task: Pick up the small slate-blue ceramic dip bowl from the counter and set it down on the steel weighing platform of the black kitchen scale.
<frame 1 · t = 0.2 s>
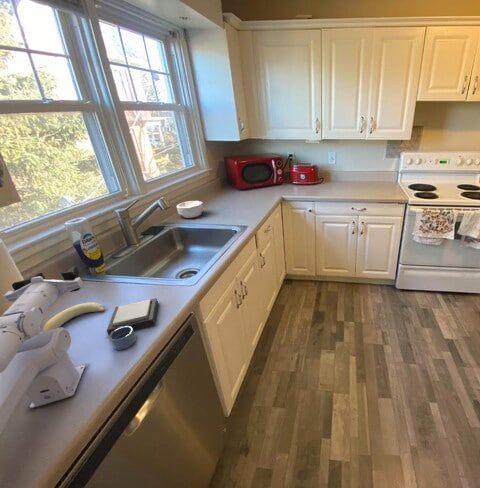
hand: (59, 272, 76), 21 cm above the countertop, tool horizontal, fingers open, 7 cm apart
platform: (133, 312, 89), point 3 cm above the countertop, slide at 0.0 cm
paper bowls: (192, 216, 178), on the countertop
fruit: (74, 321, 90), on the countertop
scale: (135, 319, 90), on the countertop
bowl: (125, 343, 81), on the countertop
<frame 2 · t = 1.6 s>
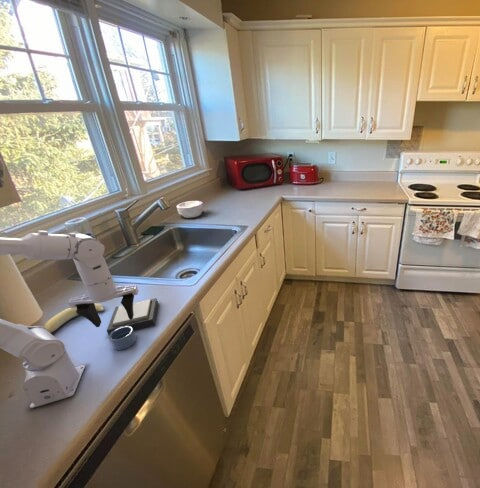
hand: (115, 320, 77), 8 cm above the countertop, tool pointing down, fingers open, 7 cm apart
nothing on the countertop moved.
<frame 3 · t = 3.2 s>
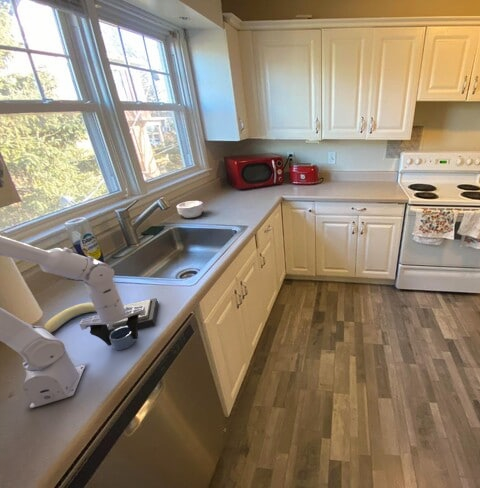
hand: (123, 339, 80), 1 cm above the countertop, tool pointing down, fingers closed on bowl, 5 cm apart
bowl: (125, 343, 81), on the countertop, touching gripper
everything else where it was.
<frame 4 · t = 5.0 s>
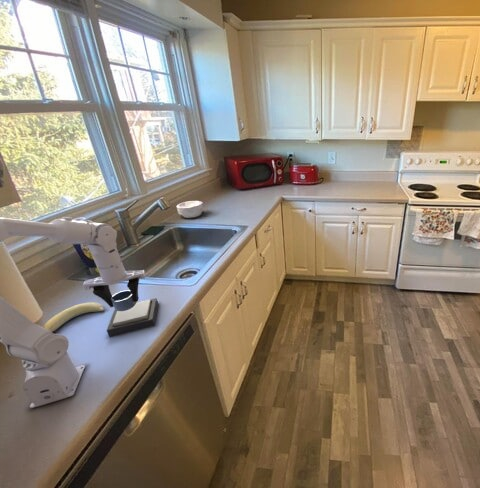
hand: (125, 302, 84), 8 cm above the countertop, tool pointing down, fingers closed on bowl, 5 cm apart
bowl: (126, 306, 85), point 7 cm above the countertop, touching gripper
everything else where it was.
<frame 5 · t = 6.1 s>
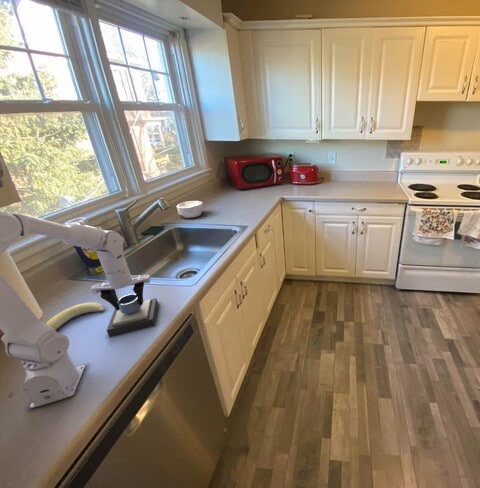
hand: (130, 305, 88), 5 cm above the countertop, tool pointing down, fingers closed on bowl, 5 cm apart
bowl: (131, 309, 88), point 4 cm above the countertop, touching gripper
everything else where it was.
when the fingers open (5 cm above the countertop, at t = 6.8 s): bowl stays where it is, resting on platform.
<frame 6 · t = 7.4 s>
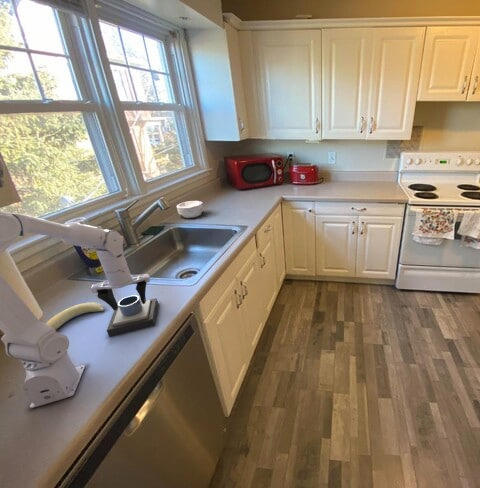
hand: (130, 305, 88), 6 cm above the countertop, tool pointing down, fingers open, 7 cm apart
platform: (133, 312, 89), point 3 cm above the countertop, slide at -0.1 cm, touching bowl
bowl: (132, 311, 89), point 3 cm above the countertop, touching platform
everything else where it was.
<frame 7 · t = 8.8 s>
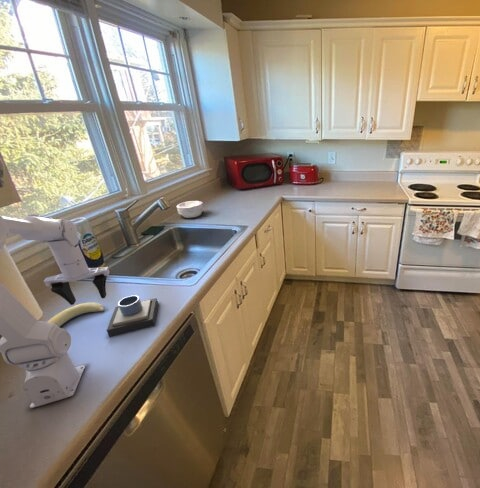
hand: (89, 299, 84), 9 cm above the countertop, tool pointing down, fingers open, 7 cm apart
nothing on the countertop moved.
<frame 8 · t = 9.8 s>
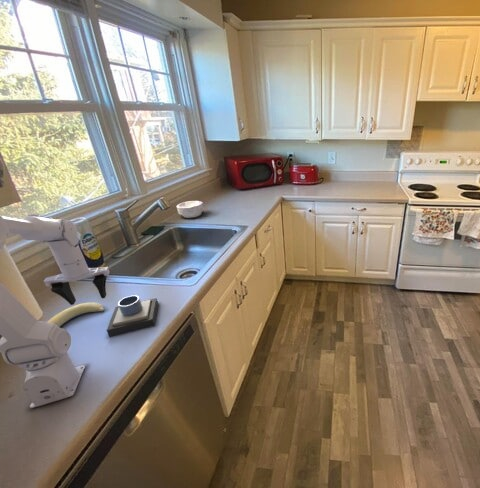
hand: (89, 299, 84), 9 cm above the countertop, tool pointing down, fingers open, 7 cm apart
nothing on the countertop moved.
at the end: bowl inside the target area on the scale (0.0 cm from its centre), point 3.3 cm above the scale's base; bowl tilted 0°; the gripper is holding nothing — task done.
